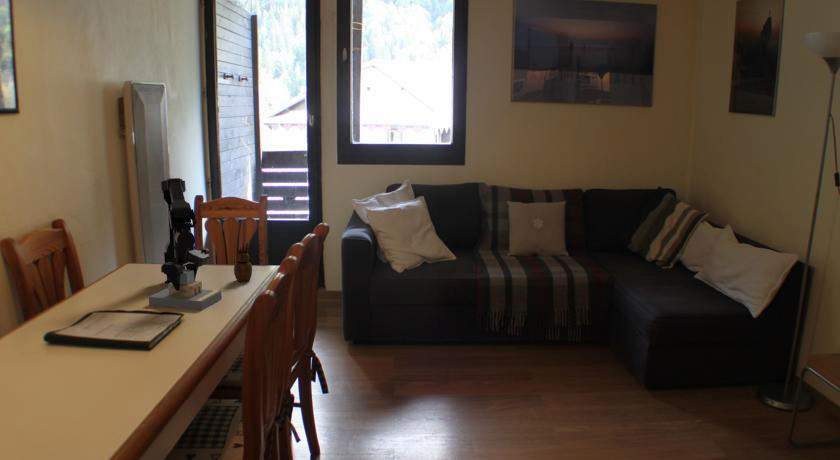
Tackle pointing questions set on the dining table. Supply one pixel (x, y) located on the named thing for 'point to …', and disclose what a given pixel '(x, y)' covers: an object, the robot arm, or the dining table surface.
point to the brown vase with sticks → (243, 265)
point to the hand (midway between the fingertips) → (185, 286)
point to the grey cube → (187, 277)
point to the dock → (185, 299)
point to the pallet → (186, 289)
